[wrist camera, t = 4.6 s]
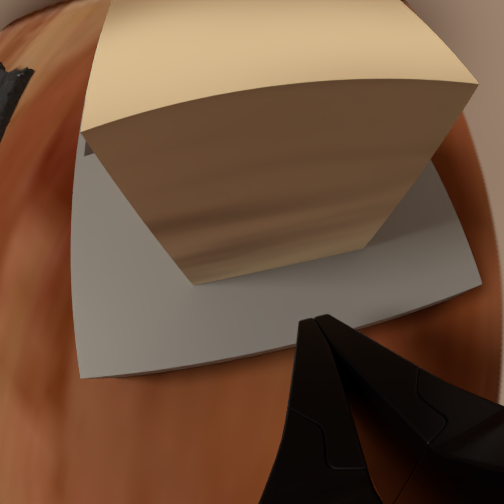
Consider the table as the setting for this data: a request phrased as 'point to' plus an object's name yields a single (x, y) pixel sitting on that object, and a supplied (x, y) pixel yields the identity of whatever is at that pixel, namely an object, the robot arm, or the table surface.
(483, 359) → the table surface
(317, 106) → the maple block
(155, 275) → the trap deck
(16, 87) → the dark slate chunk
